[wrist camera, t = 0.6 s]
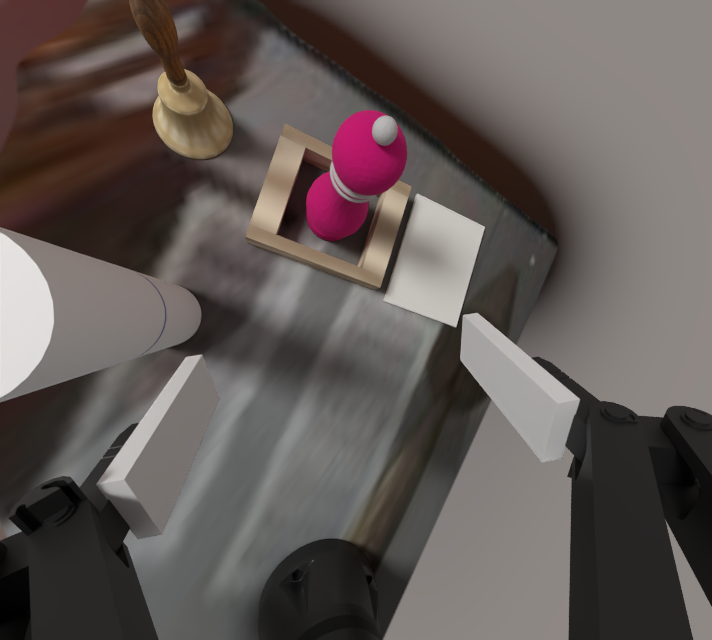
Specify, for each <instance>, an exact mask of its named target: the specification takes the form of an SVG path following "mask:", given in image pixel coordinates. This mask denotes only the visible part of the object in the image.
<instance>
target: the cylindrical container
mask: <svg viewBox="0 0 712 640" xmlns="http://www.w3.org/2000/svg"><path fill="white" fill-rule="evenodd" d="M200 322H201V308H200V305H199V303H198V301H197V299H196V298H195V296H194V295H193V294H192V293H191V292H189V291H188V290H186V289H185V288H183V287H181V286H178V285H175V284H172V283H169V282H166V281H162V280H159V279H156V278H153V277H150V276H147V275H144V274H141V273H138V272H135V271H132V270H129V269H126V268H123V267H120V266H117V265H114V264H111V263H108V262H105V261H101V260H98V259H95V258H92V257H89V256H86V255H83V254H80V253H77V252H74V251H71V250H68V249H65V248H62V247H58V246H55V245H52V244H49V243H46V242H43V241H40V240H37V239H34V238H31V237H28V236H25V235H22V234H19V233H16V232H13V231H10V230H7V229H4V228H1V227H0V402H3V401H6V400H9V399H12V398H15V397H18V396H21V395H24V394H27V393H30V392H33V391H36V390H39V389H42V388H45V387H49V386H52V385H55V384H58V383H61V382H64V381H67V380H70V379H73V378H76V377H79V376H82V375H85V374H88V373H91V372H95V371H98V370H101V369H104V368H107V367H110V366H113V365H116V364H119V363H122V362H125V361H128V360H131V359H134V358H137V357H141V356H144V355H147V354H150V353H153V352H156V351H159V350H162V349H165V348H168V347H171V346H175V345H178V344H180V343H183V342H185V341H186V340H188V339H189V338H191V337H192V336H193V335H194V334H195V332H196V331H197V329H198V327H199V325H200Z"/></svg>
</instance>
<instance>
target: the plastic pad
mask: <svg viewBox="0 0 712 640" xmlns="http://www.w3.org/2000/svg"><path fill="white" fill-rule="evenodd" d="M484 229H485V227H484V226H482V225H480V224H478V223H476V222H474V221H472V220H470V219H468V218H466V217H464V216H462V215H460V214H458V213H456V212H454V211H452V210H450V209H447V208H445V207H443V206H441V205H439V204H437V203H435V202H433V201H431V200H429V199H427V198H425V197H423V196H421V195H419V194H417V195H416V196H415V200H414V203H413V206H412V209H411V213H410V216H409V219H408V222H407V226H406V229H405V232H404V235H403V239H402V242H401V245H400V248H399V252H398V255H397V258H396V261H395V265H394V268H393V271H392V274H391V278H390V281H389V284H388V287H387V291H386V294H385V297H384V300H383V301H384V302H387V303H389V304H392V305H395V306H398V307H400V308H403V309H406V310H409V311H411V312H414V313H417V314H420V315H422V316H425V317H428V318H430V319H433V320H436V321H439V322H441V323H444V324H447V325H450V326H452V327H456V326H457V323H458V319H459V316H460V312H461V309H462V305H463V302H464V298H465V295H466V291H467V288H468V284H469V281H470V277H471V274H472V271H473V267H474V264H475V260H476V257H477V253H478V250H479V246H480V243H481V239H482V236H483V232H484Z"/></svg>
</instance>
